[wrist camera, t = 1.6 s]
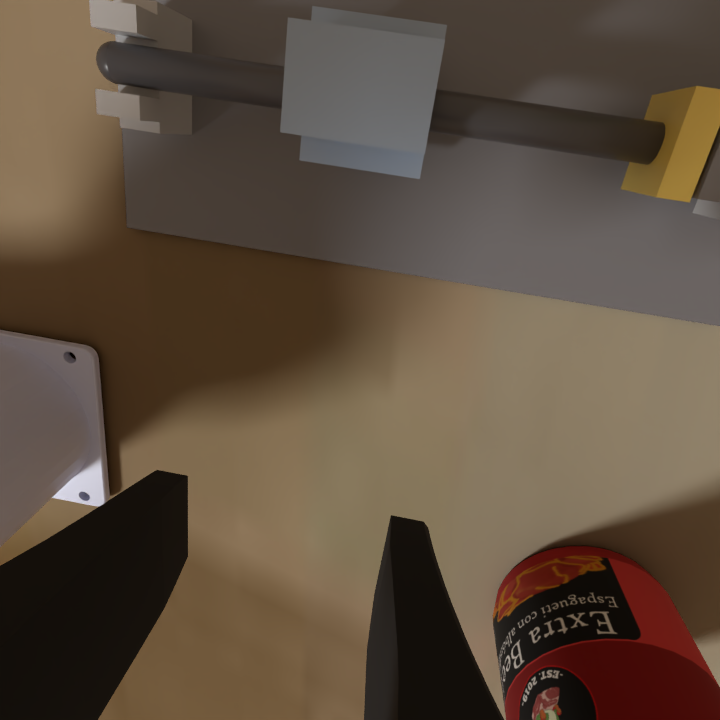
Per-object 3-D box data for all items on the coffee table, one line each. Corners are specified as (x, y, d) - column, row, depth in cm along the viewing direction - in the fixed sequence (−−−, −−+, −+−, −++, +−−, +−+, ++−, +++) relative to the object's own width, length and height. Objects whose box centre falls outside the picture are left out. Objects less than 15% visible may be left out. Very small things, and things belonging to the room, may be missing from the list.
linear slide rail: (131, 226, 18) (54, 248, 14) (114, -131, 14) (1, -232, 10) (718, 323, 17) (802, 375, 13) (880, -31, 13) (1069, -102, 9)
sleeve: (322, 157, 15) (277, 162, 11) (335, 34, 14) (290, -22, 9) (420, 172, 15) (419, 185, 10) (442, 49, 14) (452, 0, 9)
